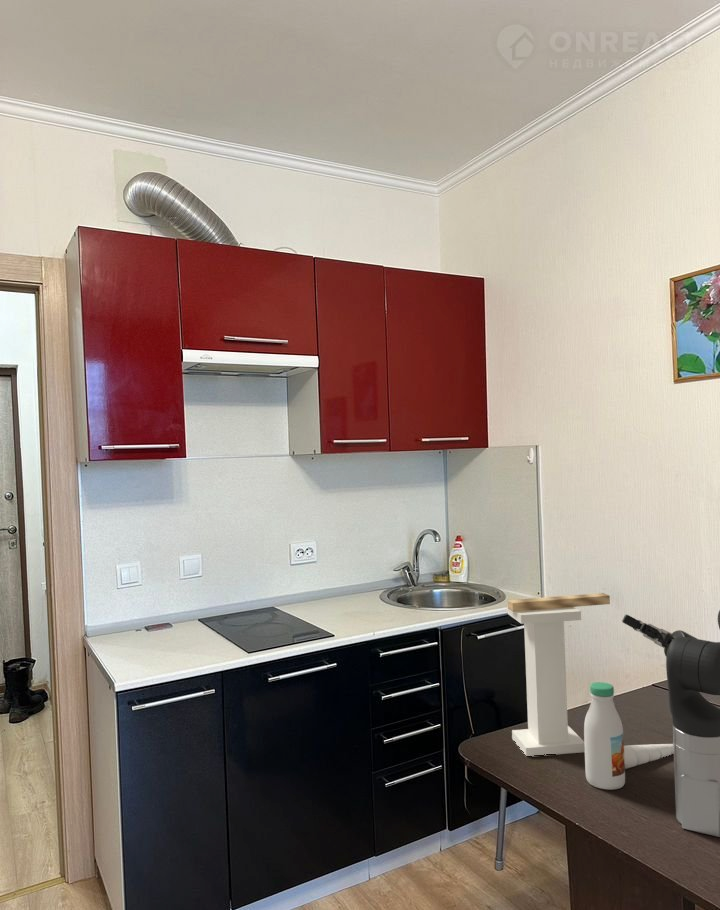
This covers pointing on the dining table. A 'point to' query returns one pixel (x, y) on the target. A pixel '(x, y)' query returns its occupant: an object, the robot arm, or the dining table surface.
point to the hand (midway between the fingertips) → (632, 622)
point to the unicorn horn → (645, 753)
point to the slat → (558, 602)
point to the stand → (546, 683)
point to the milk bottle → (604, 740)
